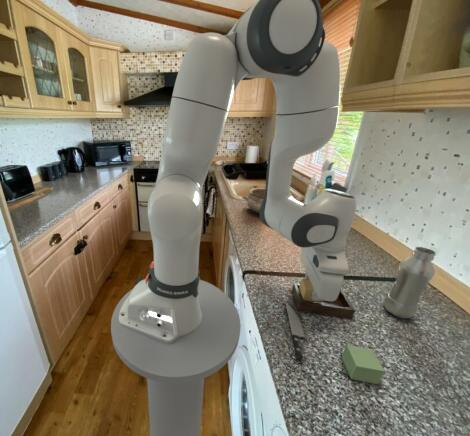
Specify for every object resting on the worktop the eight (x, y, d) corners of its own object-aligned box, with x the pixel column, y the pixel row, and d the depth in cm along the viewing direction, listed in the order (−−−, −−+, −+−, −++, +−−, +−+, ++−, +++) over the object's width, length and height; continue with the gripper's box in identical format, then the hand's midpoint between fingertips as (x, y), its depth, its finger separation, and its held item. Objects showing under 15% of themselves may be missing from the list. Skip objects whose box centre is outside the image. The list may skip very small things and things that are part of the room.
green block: (350, 379, 50) (356, 366, 49) (341, 357, 55) (346, 344, 53) (378, 384, 49) (384, 371, 48) (366, 362, 54) (371, 349, 52)
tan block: (302, 300, 68) (305, 289, 67) (298, 289, 73) (301, 278, 71) (321, 303, 67) (325, 291, 66) (316, 291, 72) (319, 280, 70)
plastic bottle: (415, 325, 63) (449, 260, 56) (383, 315, 66) (411, 252, 59) (409, 309, 69) (439, 248, 61) (379, 301, 72) (404, 241, 64)
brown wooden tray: (298, 310, 68) (300, 302, 67) (291, 290, 76) (293, 282, 74) (352, 318, 65) (355, 310, 64) (339, 297, 73) (342, 289, 72)
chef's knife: (295, 304, 70) (284, 302, 71) (296, 301, 70) (285, 299, 70) (311, 365, 53) (296, 361, 54) (313, 361, 52) (298, 357, 53)
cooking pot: (283, 209, 142) (287, 189, 137) (289, 221, 125) (294, 199, 120) (240, 205, 147) (242, 185, 142) (240, 217, 130) (242, 195, 125)
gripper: (300, 231, 74) (291, 269, 79) (322, 269, 56) (308, 315, 61) (323, 233, 73) (312, 271, 78) (352, 273, 54) (336, 319, 60)
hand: (310, 291), depth 69 cm, fingers closed on tan block, 5 cm apart
